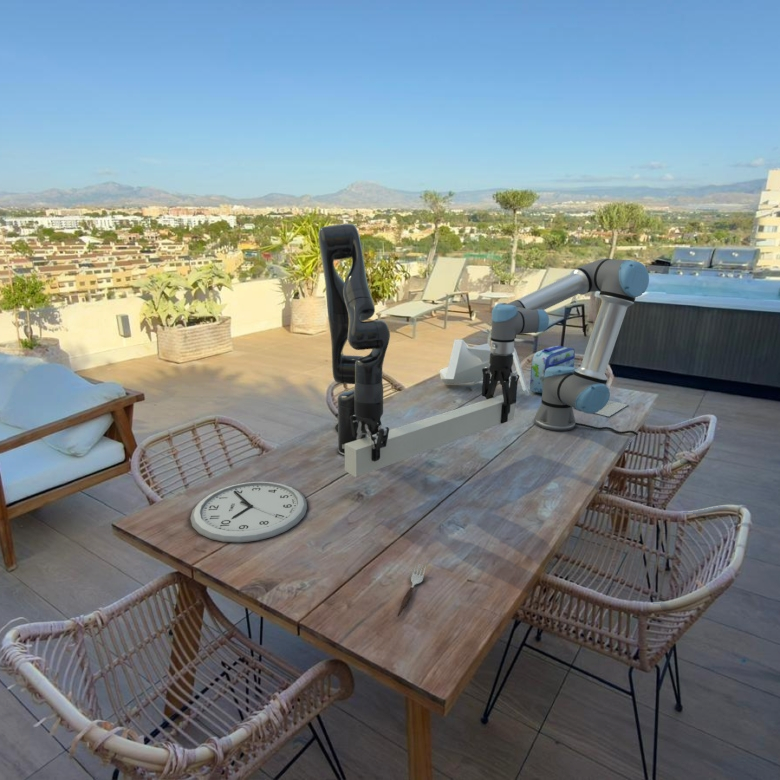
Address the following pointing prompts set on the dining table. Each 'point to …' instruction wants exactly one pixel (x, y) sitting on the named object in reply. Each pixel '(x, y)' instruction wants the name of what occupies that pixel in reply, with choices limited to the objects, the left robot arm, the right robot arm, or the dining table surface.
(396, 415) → the dining table surface
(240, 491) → the wall clock
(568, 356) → the lunch box
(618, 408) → the invitation card
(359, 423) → the left robot arm
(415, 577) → the fork
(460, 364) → the white plastic object
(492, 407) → the bar
